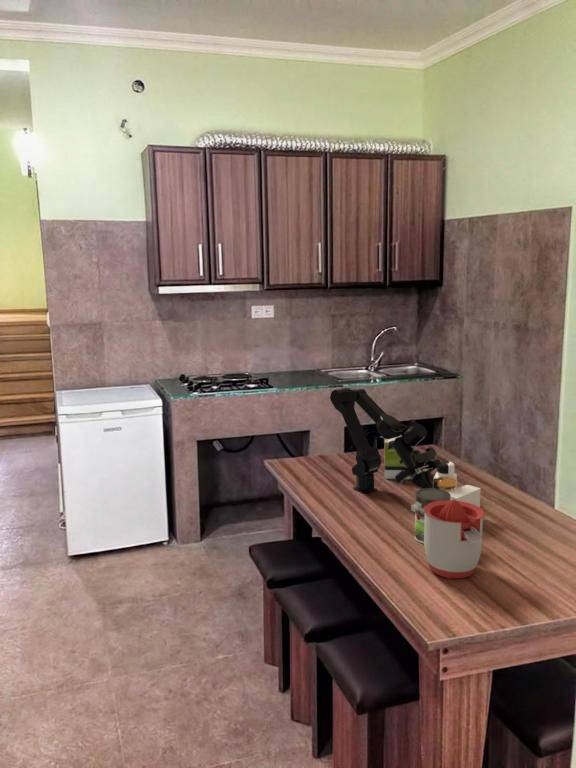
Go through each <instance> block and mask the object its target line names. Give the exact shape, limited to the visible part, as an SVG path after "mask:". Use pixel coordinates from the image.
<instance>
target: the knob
mask: <svg viewBox="0 0 576 768" xmlns="http://www.w3.org/2000/svg"><path fill="white" fill-rule="evenodd" d="M437 486H438V487H439V489H441V490H444V491H447V492H450V491H453V488H455V487H456V479H455V478H452V477H439V478H437Z"/></svg>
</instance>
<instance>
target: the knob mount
mask: <svg viewBox="0 0 576 768" xmlns="http://www.w3.org/2000/svg"><path fill="white" fill-rule="evenodd" d="M448 493H450V495H451V497H450V500H453V499H454V500H456V501H462V502H467V503H471V504H474V505H476V506H478V507H480V508H481V487H478V486H473V485H471V484H465V485H462V486H460V487H457V489H455V490H453V491H450V492H448ZM410 510H411V512H413V513H415V503H414V504H411V505H410Z"/></svg>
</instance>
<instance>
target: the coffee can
mask: <svg viewBox="0 0 576 768" xmlns="http://www.w3.org/2000/svg"><path fill="white" fill-rule="evenodd" d="M414 494H415V495H414V496H415V499H414V501H415V503H414V504H415V512H414V536H413V537H414V538H413V539H414V540H416V542H418V543H419V544H423V545H424V519H425V512H424V507H425V506H426V505H427V504H429V503H431V502H435V501H443V500H450V497H451V495H450V493H448V492H447V491H444V490H441V489H435V488H425V489H423V488H420V489H418V490H416V491H415V492H414Z"/></svg>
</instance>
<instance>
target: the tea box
mask: <svg viewBox="0 0 576 768" xmlns="http://www.w3.org/2000/svg"><path fill="white" fill-rule="evenodd" d="M398 437H402V435H401V436H398ZM398 437H395V438H392V439H384V445H383V447H384V448H383V449H384V450H383V451H384V452H383V454H384V455H383V456H384V460H383V461H384V466H383V467H384V479H386V480H395V476H396V475H397V474H398V473H399V472H400V471H402V470H403V469H406V467H405V465H404V464H403V463H402V464H400V462H399V461H400V460H401V459H400V457H399V456H398V454H397V453H396V451H395V450H394V448H393V449H390V450H389V449H388V446H389V442H390V441H394V440H395V439H396V438H398ZM404 480H411V476H410V477H407V478H405V479H404Z"/></svg>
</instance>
